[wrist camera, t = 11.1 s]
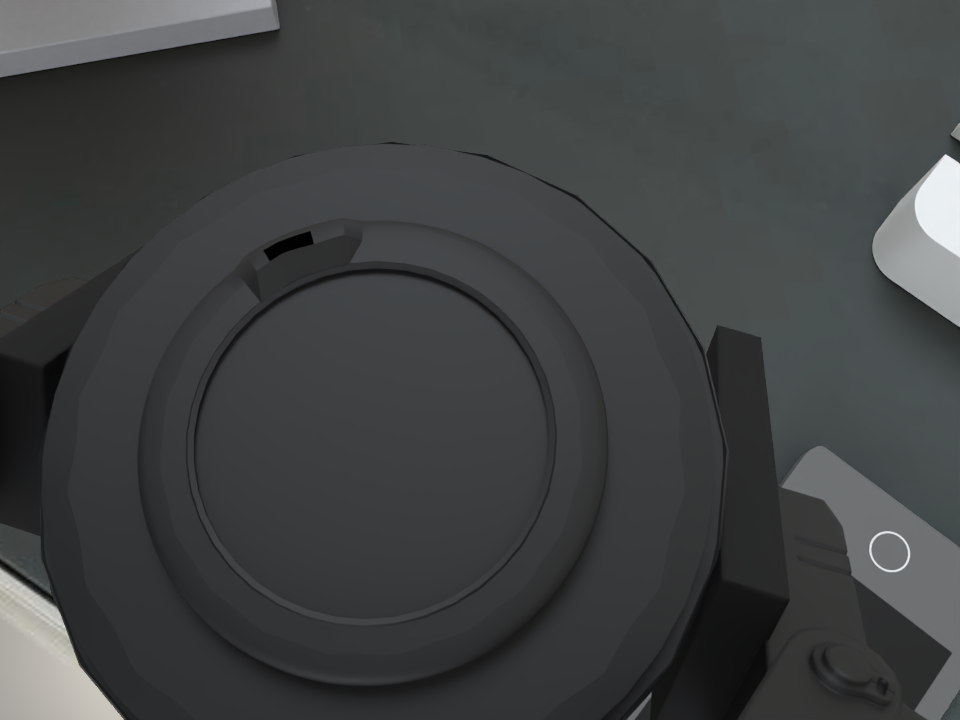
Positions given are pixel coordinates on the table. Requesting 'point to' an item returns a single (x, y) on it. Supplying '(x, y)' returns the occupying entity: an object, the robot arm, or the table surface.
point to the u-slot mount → (926, 239)
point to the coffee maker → (118, 28)
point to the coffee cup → (383, 454)
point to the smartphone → (891, 581)
